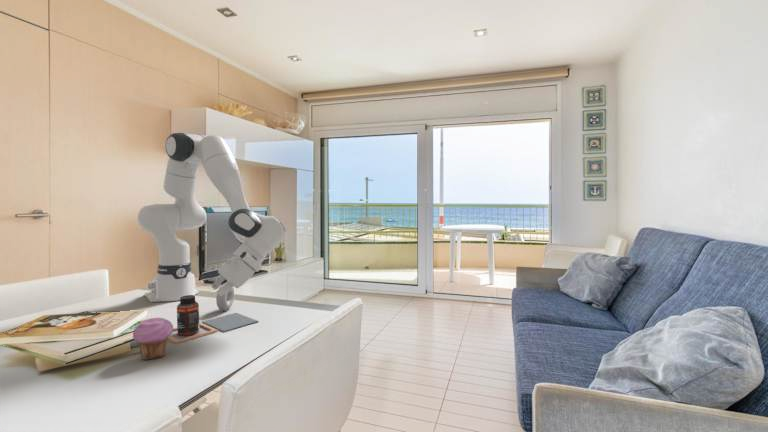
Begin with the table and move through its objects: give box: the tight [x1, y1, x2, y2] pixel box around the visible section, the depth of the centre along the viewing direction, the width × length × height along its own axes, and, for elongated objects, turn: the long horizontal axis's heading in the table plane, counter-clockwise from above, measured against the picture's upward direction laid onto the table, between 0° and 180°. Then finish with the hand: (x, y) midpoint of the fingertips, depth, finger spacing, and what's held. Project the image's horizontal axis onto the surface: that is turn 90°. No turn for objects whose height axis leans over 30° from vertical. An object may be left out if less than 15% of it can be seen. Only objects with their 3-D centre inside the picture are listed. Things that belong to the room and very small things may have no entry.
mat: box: [201, 312, 259, 333], centre depth 120 cm, size 14×12×1 cm
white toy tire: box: [216, 283, 235, 312], centre depth 133 cm, size 10×4×10 cm, turn 179°
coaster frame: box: [168, 321, 219, 344], centre depth 110 cm, size 12×12×1 cm
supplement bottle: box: [176, 295, 200, 337], centre depth 110 cm, size 6×6×11 cm
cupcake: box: [132, 317, 174, 361], centre depth 93 cm, size 9×9×10 cm
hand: (215, 291), depth 114 cm, fingers open, 8 cm apart
